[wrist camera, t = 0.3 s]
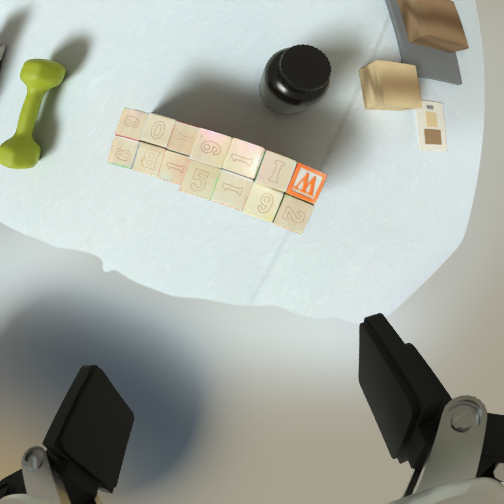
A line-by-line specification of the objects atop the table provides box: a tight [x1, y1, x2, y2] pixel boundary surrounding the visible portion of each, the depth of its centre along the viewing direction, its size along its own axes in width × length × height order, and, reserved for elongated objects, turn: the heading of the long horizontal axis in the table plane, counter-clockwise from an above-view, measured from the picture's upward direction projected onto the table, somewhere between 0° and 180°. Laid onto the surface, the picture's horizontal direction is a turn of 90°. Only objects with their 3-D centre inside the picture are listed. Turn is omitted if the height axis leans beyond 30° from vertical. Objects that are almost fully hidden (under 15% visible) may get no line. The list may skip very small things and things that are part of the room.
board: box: [385, 0, 462, 85], centre depth 27 cm, size 20×12×1 cm, turn 8°
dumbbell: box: [0, 59, 66, 169], centre depth 27 cm, size 16×8×7 cm, turn 156°
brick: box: [397, 0, 468, 53], centre depth 24 cm, size 9×9×5 cm
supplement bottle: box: [259, 44, 331, 114], centre depth 26 cm, size 7×7×12 cm
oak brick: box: [359, 60, 422, 111], centre depth 29 cm, size 6×6×6 cm
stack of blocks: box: [107, 108, 327, 234], centre depth 29 cm, size 21×6×12 cm, turn 69°
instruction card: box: [415, 100, 447, 151], centre depth 34 cm, size 8×6×1 cm
